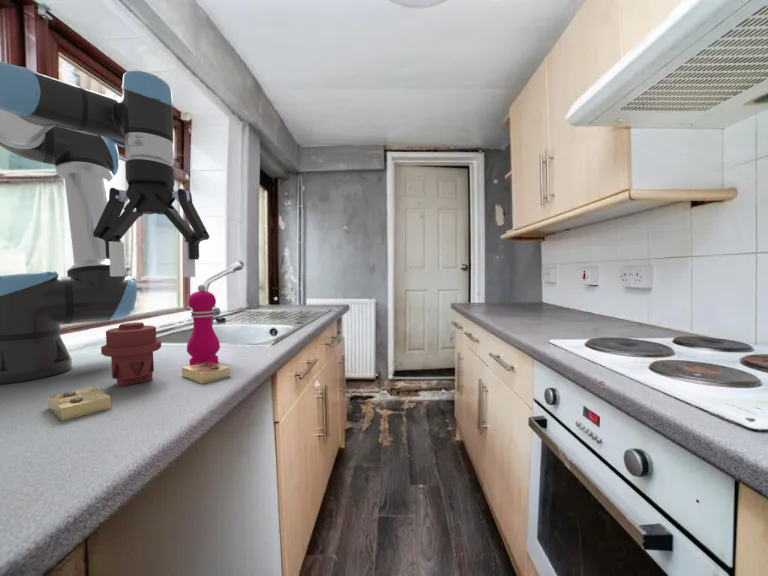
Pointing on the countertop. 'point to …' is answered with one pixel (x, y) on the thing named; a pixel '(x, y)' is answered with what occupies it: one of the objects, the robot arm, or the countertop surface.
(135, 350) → the mechanical component
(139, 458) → the countertop surface
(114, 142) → the robot arm
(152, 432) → the countertop surface
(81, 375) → the countertop surface
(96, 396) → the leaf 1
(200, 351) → the pepper mill
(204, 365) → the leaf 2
